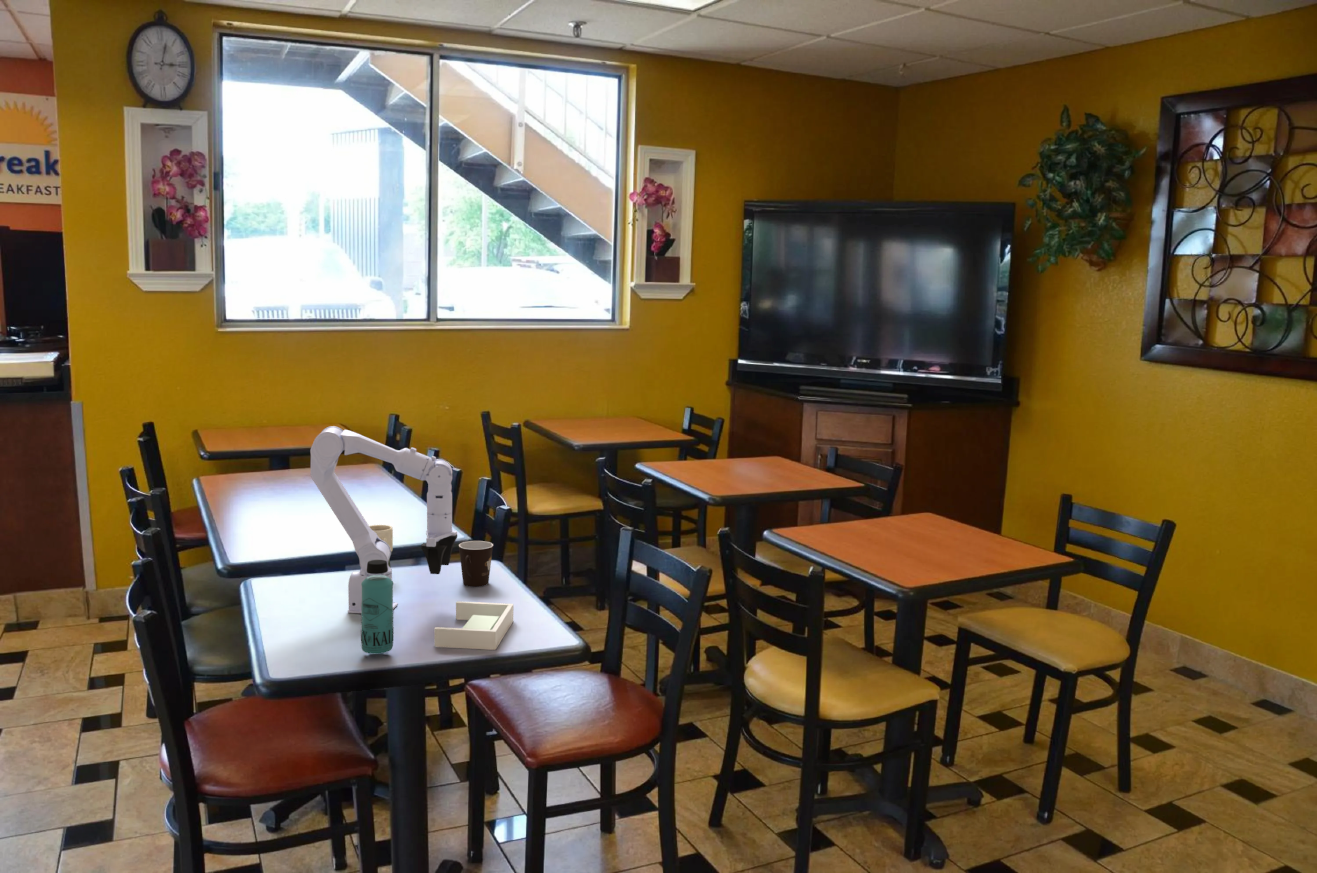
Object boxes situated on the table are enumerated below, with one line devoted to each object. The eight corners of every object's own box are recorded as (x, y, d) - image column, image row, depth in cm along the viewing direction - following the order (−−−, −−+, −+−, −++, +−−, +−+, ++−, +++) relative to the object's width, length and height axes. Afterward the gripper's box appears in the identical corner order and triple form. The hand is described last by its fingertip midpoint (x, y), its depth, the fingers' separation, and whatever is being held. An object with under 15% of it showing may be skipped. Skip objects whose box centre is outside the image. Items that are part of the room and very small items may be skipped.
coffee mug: (476, 576, 270) (476, 539, 269) (499, 582, 265) (500, 544, 264) (442, 586, 261) (442, 547, 259) (466, 592, 256) (466, 553, 254)
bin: (434, 646, 218) (434, 628, 217) (457, 618, 237) (457, 601, 236) (495, 649, 217) (495, 631, 217) (513, 620, 236) (513, 603, 235)
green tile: (462, 641, 223) (462, 628, 222) (472, 627, 232) (472, 615, 231) (489, 643, 222) (489, 629, 222) (499, 629, 231) (499, 616, 231)
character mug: (358, 573, 270) (357, 524, 268) (385, 569, 274) (384, 521, 272) (372, 584, 261) (371, 533, 259) (399, 580, 265) (399, 530, 263)
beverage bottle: (364, 650, 215) (363, 556, 212) (396, 649, 215) (396, 556, 213) (358, 661, 208) (356, 565, 206) (391, 661, 209) (390, 565, 206)
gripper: (448, 520, 233) (448, 578, 235) (464, 506, 247) (464, 561, 249) (417, 518, 233) (417, 577, 235) (435, 505, 248) (435, 560, 250)
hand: (439, 569), depth 242 cm, fingers open, 7 cm apart
